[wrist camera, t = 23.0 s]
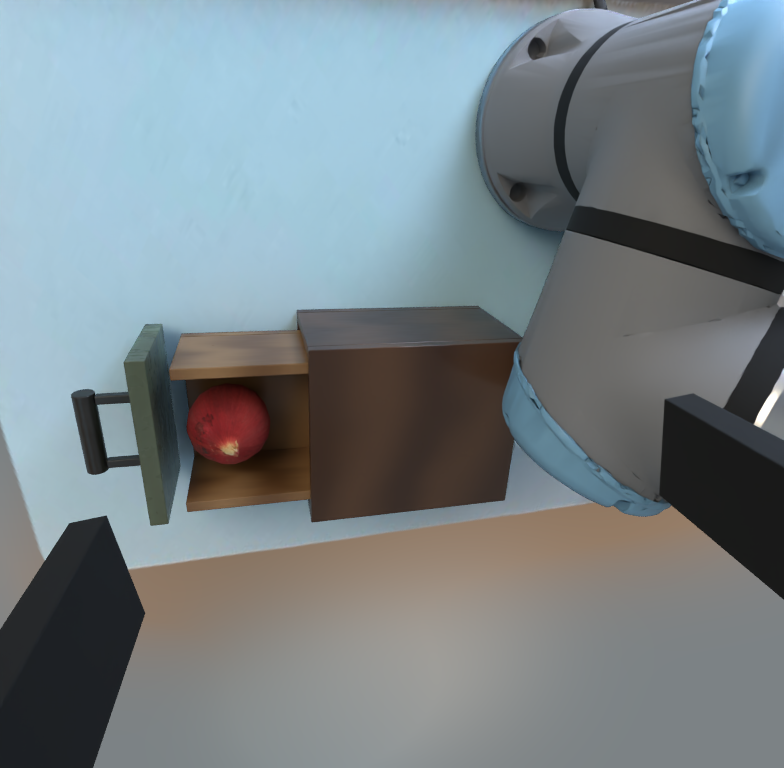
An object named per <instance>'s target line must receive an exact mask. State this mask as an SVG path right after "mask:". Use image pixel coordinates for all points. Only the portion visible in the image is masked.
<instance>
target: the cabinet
mask: <svg viewBox="0 0 784 768" xmlns="http://www.w3.org/2000/svg"><path fill="white" fill-rule="evenodd" d="M297 330H300V331H301V335H302V339H303V342H304V346H305V350H306V353H307V356H308V406H309V458H310V499H308V503H309V509H310V515H311V521H312V522H320V521H328V520H337V519H346V518H355V517H363V516H372V515H381V514H390V513H398V512H407V511H416V510H425V509H433V508H442V507H451V506H460V505H468V504H477V503H486V502H495V501H503V500H505V495H506V489H507V482H508V476H509V469H510V463H511V456H512V450H513V443H514V438H513V436H512V434H511V432H510V429H509V427H508V426H507V424H506V421H505V419H504V416H503V411H502V400H503V395H504V391H505V389H506V386H507V383H508V380H509V377H510V374H511V371H512V367H513V364H514V352H515V350H516V348H517V346H518V344H519V343H520V342H521V341H522V339H523V337H521V336H520V335H518V334H517V333H516V332H514V331H513V330H511V329H510V328H508V327H507V326H506V325H504V324H503V323H501V322H500V321H499V320H497V319H496V318H494V317H493V316H491V315H490V314H489V313H487V312H486V311H484V310H483V309H481V308H480V307H479V306H454V307H409V308H364V309H318V310H297Z"/></svg>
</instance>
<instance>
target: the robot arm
mask: <svg viewBox="0 0 784 768" xmlns="http://www.w3.org/2000/svg"><path fill="white" fill-rule="evenodd" d="M593 1H594V5H595V8H592V9H576V10H571V11H566V12H563V13H560V14H557V15H555V16H552V17H550V18H548V19H545V20H543V21H541V22H539V23H537V24H536V25H534V26H532V27H531V28H529V29H528V30H526V31H525V32H524V33H522V34H521V35H520V36H519V37H518V38H517V39H516V40H515V41H514V42H513V43H512V44H511V45H510V46H509V47H508V48H507V49H506V50H505V52H504V53H503V55H502V56H501V57H500V59H499V60H498V62H497V63H496V65H495V67H494V68H493V70H492V72H491V74H490V76H489V78H488V80H487V83H486V85H485V88H484V90H483V93H482V96H481V100H480V104H479V108H478V113H477V120H476V150H477V157H478V162H479V166H480V170H481V173H482V176H483V178H484V181H485V183H486V185H487V187H488V189H489V191H490V193H491V194H492V196H493V197H494V199H495V200H496V201H497V202H498V204H499V205H500V206H501V207H502V208H503V209H504V210H505V211H506V212H507V213H509V214H510V215H511V216H513V217H514V218H516V219H518V220H519V221H521V222H523V223H525V224H528V225H531V226H534V227H537V228H541V229H545V230H550V231H565V232H564V235H563V237H562V240H561V242H560V245H559V248H558V250H557V253H556V255H555V258H554V261H553V263H552V266H551V268H550V271H549V274H548V276H547V279H546V281H545V284H544V286H543V289H542V292H541V294H540V297H539V299H538V302H537V304H536V307H535V309H534V312H533V314H532V317H531V319H530V322H529V324H528V327H527V329H526V331H525V334H524V336H523V339H522V341H521V342H520V343H519V344H518V346H517V348H516V350H515V352H514V364H513V367H512V371H511V374H510V377H509V380H508V383H507V386H506V389H505V391H504V395H503V400H502V411H503V416H504V419H505V421H506V424H507V426H508V427H509V429H510V432H511V434H512V436H513V438H514V439H515V441H516V442H517V443H518V445H519V446H520V447H521V448H522V449H523V450H524V452H525V453H526V454H527V455H528V456H529V457H530V458H531V459H532V460H533V461H534V462H536V463H537V464H538V465H539V466H540V467H541V468H542V469H544V470H545V471H546V472H547V473H549V474H550V475H551V476H553V477H554V478H555V479H557V480H558V481H560V482H561V483H562V484H564V485H565V486H567V487H569V488H570V489H572V490H573V491H575V492H577V493H578V494H580V495H582V496H584V497H585V498H587V499H589V500H591V501H593V502H596V503H598V504H600V505H603V506H605V507H611V506H615V507H616V508H617V509H619V510H620V511H621V512H623V513H625V514H629V515H634V516H645V517H646V516H652V515H657V514H659V513H660V512H662V511H663V510H664V509H667V508H669V507H670V506H671V505H672V506H673V507H674V508H676V509H677V510H678V511H679V512H680V513H681V514H683V515H684V516H685V517H686V518H687V519H689V520H690V521H691V522H692V523H694V524H695V525H696V526H697V527H698V528H699V529H701V530H702V531H703V532H704V533H705V534H707V535H708V536H709V537H710V538H712V540H714V541H715V542H716V543H717V544H718V545H720V546H721V547H722V548H723V549H724V550H725V551H727V552H728V553H729V554H730V555H731V556H733V557H734V558H735V559H736V560H737V561H738V562H740V563H741V564H742V565H743V566H744V567H746V568H747V569H748V570H749V571H750V572H752V573H753V574H754V575H755V576H756V577H758V578H759V579H760V580H761V581H762V582H763V583H765V584H766V585H767V586H768V587H769V588H771V589H772V590H773V591H774V592H775V593H777V594H778V595H779V596H780V597H782V598H783V599H784V309H783V308H780V307H779V306H778V304H777V303H778V301H779V298H780V296H781V295H782V292H783V290H784V0H694V1H691V2H688V3H685V4H682V5H679V6H676V7H673V8H670V9H667V10H664V11H661V12H658V13H655V14H652V15H649V16H646V17H643V18H640V19H637V18H633V17H630V16H627V15H623V14H620V13H617V12H613V11H610V10H607V6H606V2H605V0H593ZM144 615H145V612H144V609H143V607H142V604H141V602H140V599H139V596H138V594H137V591H136V589H135V586H134V584H133V582H132V579H131V577H130V574H129V571H128V569H127V566H126V564H125V561H124V559H123V556H122V553H121V551H120V548H119V546H118V543H117V541H116V538H115V536H114V533H113V531H112V528H111V526H110V523H109V521H108V518H107V516H102V517H97V518H92V519H88V520H83V521H78V522H73V523H69V525H68V526H67V528H66V529H65V531H64V532H63V534H62V535H61V537H60V539H59V540H58V542H57V543H56V545H55V546H54V548H53V549H52V551H51V552H50V554H49V555H48V557H47V558H46V560H45V562H44V563H43V565H42V566H41V568H40V569H39V571H38V572H37V574H36V575H35V577H34V579H33V580H32V582H31V583H30V585H29V586H28V588H27V589H26V591H25V592H24V594H23V595H22V597H21V598H20V600H19V602H18V603H17V605H16V606H15V608H14V609H13V611H12V612H11V614H10V615H9V617H8V618H7V620H6V622H5V623H4V625H3V627H2V628H1V629H0V768H93V766H94V763H95V760H96V757H97V754H98V751H99V748H100V745H101V742H102V739H103V737H104V734H105V731H106V728H107V724H108V722H109V719H110V716H111V712H112V710H113V707H114V704H115V701H116V698H117V695H118V692H119V689H120V686H121V683H122V680H123V677H124V674H125V671H126V668H127V665H128V662H129V660H130V657H131V654H132V651H133V648H134V645H135V642H136V639H137V636H138V633H139V630H140V627H141V624H142V621H143V618H144Z"/></svg>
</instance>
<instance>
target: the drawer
mask: <svg viewBox="0 0 784 768" xmlns="http://www.w3.org/2000/svg"><path fill="white" fill-rule="evenodd" d="M124 368H125V374H126V380H127V386H128V392H121V393H102V394H96V395H95V392H94V391H93V390H91V389H83V390H78V391H75V392H73V393H72V394H71V398H72V402H73V407H74V412H75V417H76V421H77V426H78V431H79V435H80V440H81V445H82V450H83V454H84V459H85V464H86V469H87V472H88V473H89V474H92V475H96V474H101V473H104V472H106V471H107V470H108V469H109V468H115V467H127V466H139V465H141V471H142V477H143V483H144V489H145V495H146V501H147V507H148V513H149V519H150V525H151V526H153V525H162V524H168V523H169V519H170V514H171V509H172V504H173V500H174V495H175V490H176V485H177V481H178V476H179V471H180V466H181V465H180V457H179V449H178V441H177V434H176V426H175V418H174V411H173V403H172V395H171V388H170V380H171V381H172V380H185V381H186V389H187V398H188V406H189V410H190V408H191V406H192V405H193V404H194V402H195V401H196V399H197V398H198V396H199V395H200V394H201V393H203V392H204V391H206V390H208V389H209V388H211V387H213V386H217V385H221V384H225V383H229V384H239V385H243V386H245V387H247V388H249V389H251V390H253V391H254V392H256V393H257V394H258V396H259V397H260V398H261V399H262V400H263V401H264V402H265V405H266V408H267V411H268V414H269V417H270V430H269V435H268V438H267V440H266V442H265V443H264V445H263V447H262V449H261V450H260V451H259V452H258V453H256V454H255V455H253V456H252V457H250V458H249V459H248V460H245V461H243V462H240V463H237V464H220V463H218V462H215V461H213V460H209V459H207V458H205V457H204V456H203V455H201V454H200V453H199V452H197V451H196V450H195V449H194V447H193V449H194V461H193V467H192V473H191V478H190V484H189V490H188V496H187V501H186V506H187V512H192V511H202V510H211V509H221V508H230V507H240V506H250V505H259V504H269V503H278V502H288V501H298V500H307V499H310V458H309V406H308V356H307V353H306V350H305V346H304V342H303V339H302V335H301V331H300V330H283V331H250V332H217V333H185V334H181V337H180V340H179V343H178V346H177V349H176V351H175V354H174V357H173V360H172V363H171V366H170V369H169V372H168V365H167V357H166V349H165V342H164V334H163V326H162V324H146V325H145V326H144V328H143V329H142V331H141V333H140V335H139V336H138V338H137V340H136V342H135V343H134V345H133V347H132V349H131V350H130V352H129V354H128V356H127V357H126V359H125V361H124ZM169 374H170V380H169ZM117 403H130V404H131V410H132V416H133V422H134V428H135V434H136V440H137V447H138V453H139V455H131V456H118V457H109V458H107V453H106V448H105V443H104V437H103V432H102V427H101V422H100V417H99V411H98V406H97V405H99V404H117Z"/></svg>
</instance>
